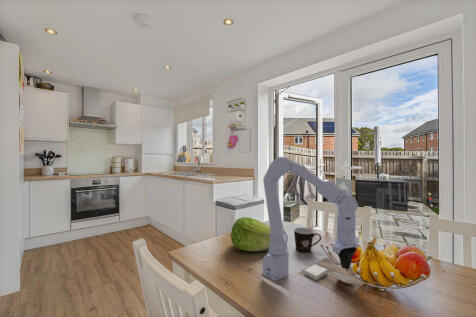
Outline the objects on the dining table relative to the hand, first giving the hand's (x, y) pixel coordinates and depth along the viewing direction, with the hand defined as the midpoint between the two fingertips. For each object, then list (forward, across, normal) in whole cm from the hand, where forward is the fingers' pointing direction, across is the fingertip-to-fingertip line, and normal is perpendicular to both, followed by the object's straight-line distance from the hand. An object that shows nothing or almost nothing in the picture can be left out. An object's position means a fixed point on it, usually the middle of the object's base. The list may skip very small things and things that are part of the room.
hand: (345, 267), depth 75 cm
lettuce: (+6, -3, +40) cm, 41 cm away
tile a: (+4, 0, +9) cm, 10 cm away
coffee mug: (+6, +12, +23) cm, 26 cm away
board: (+6, +2, +4) cm, 8 cm away
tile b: (+4, 0, 0) cm, 4 cm away
